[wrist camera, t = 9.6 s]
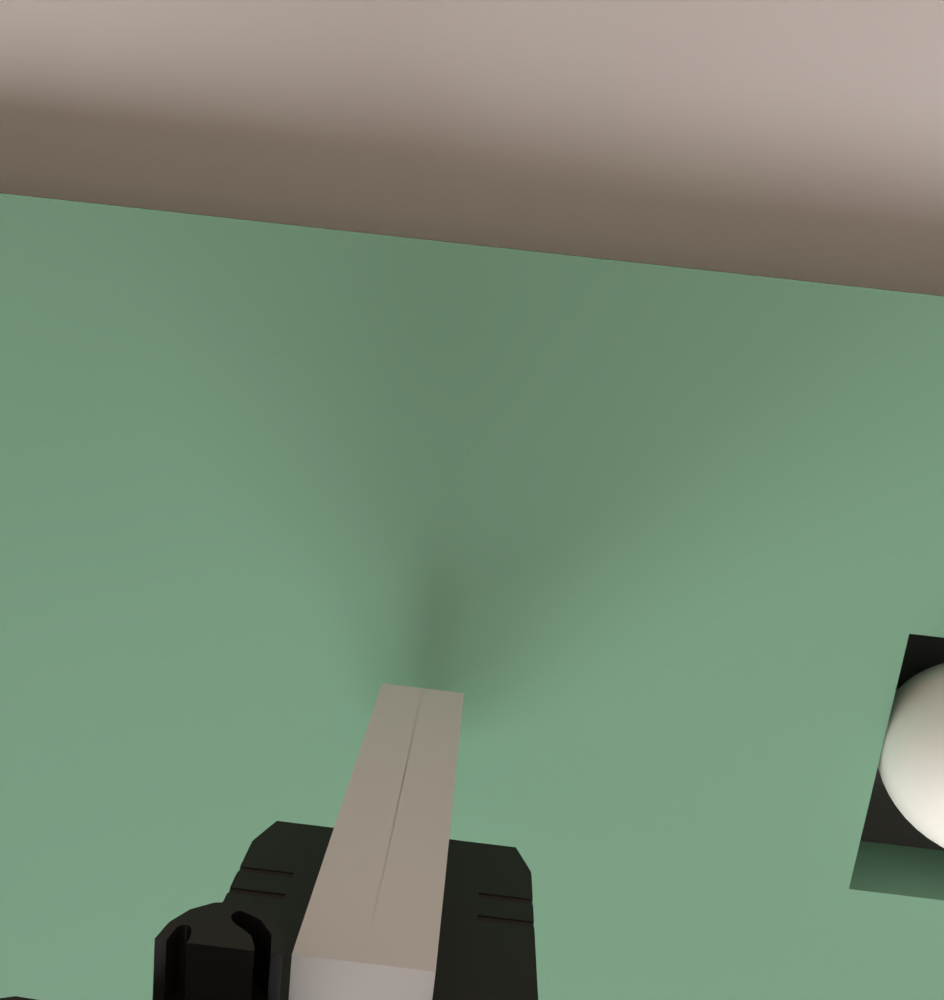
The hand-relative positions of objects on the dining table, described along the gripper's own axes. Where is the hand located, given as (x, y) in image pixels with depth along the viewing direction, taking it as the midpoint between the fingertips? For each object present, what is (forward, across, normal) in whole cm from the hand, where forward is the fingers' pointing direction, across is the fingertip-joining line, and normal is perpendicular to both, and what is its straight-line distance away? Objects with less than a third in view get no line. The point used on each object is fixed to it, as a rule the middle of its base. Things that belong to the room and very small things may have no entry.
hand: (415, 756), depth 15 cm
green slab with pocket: (+3, -2, 0) cm, 4 cm away
